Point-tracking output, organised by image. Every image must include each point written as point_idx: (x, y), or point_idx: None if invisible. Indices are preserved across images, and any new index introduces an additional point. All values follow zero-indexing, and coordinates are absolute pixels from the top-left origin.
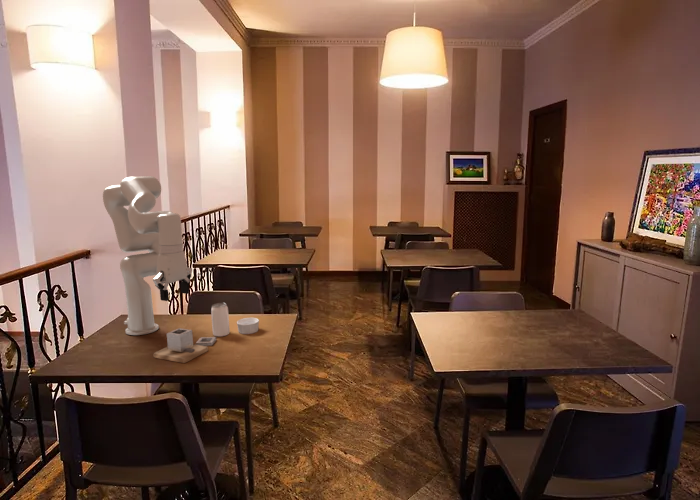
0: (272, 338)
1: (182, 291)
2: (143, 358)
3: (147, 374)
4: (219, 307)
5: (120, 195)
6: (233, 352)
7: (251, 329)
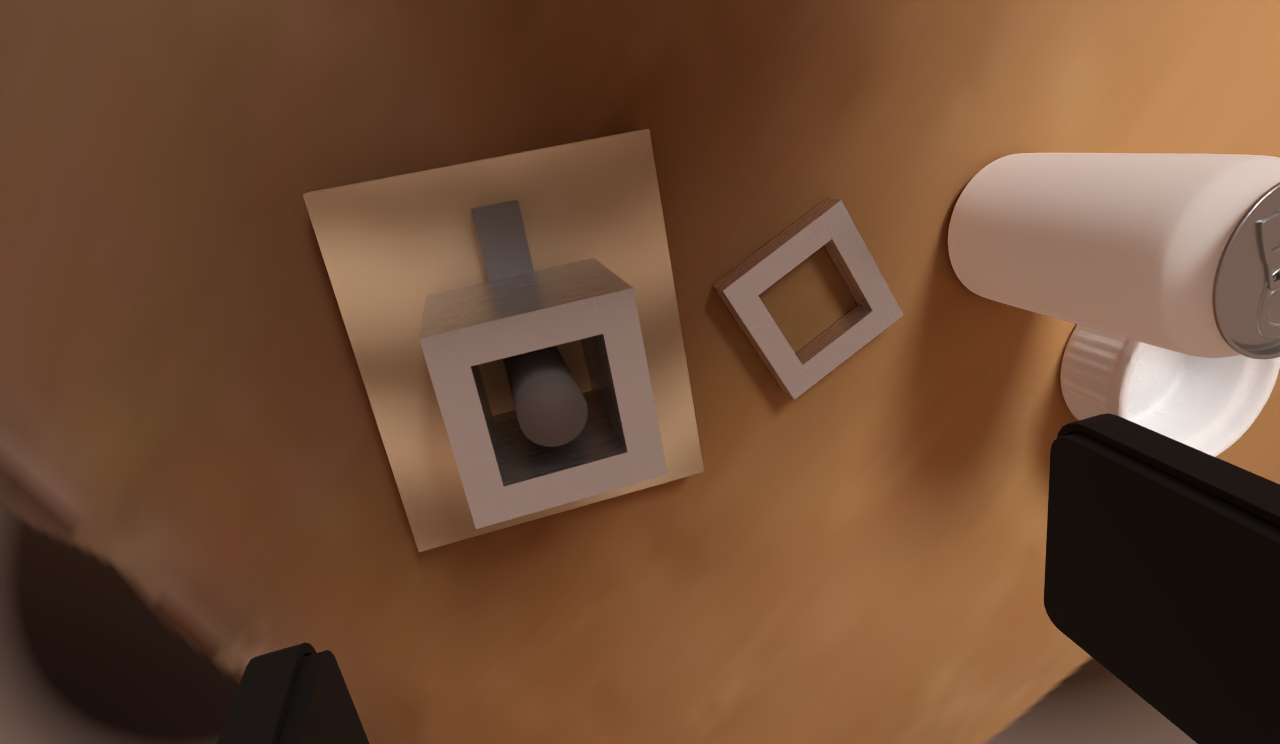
0: None
1: (1086, 501)
2: (222, 120)
3: (68, 508)
4: (1223, 338)
5: None
6: (758, 622)
7: None
